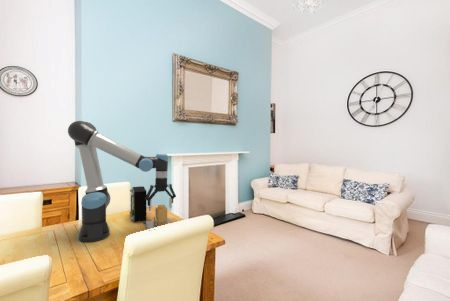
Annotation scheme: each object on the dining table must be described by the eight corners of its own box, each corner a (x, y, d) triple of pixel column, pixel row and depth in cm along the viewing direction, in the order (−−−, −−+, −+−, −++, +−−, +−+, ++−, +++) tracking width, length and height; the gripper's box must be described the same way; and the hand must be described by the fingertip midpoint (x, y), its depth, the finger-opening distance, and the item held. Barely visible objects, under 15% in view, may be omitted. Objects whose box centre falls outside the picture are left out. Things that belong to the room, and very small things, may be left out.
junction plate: (149, 230, 138) (149, 229, 138) (143, 223, 150) (143, 222, 150) (174, 225, 147) (174, 224, 147) (167, 218, 159) (167, 217, 159)
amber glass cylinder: (154, 226, 143) (154, 218, 143) (153, 225, 145) (153, 217, 144) (157, 225, 144) (157, 217, 144) (156, 224, 146) (156, 216, 146)
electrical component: (129, 214, 167) (129, 187, 166) (144, 213, 171) (144, 186, 170) (131, 222, 151) (131, 192, 150) (147, 220, 155) (147, 191, 154)
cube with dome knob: (158, 222, 149) (158, 207, 149) (155, 219, 154) (155, 205, 154) (167, 220, 153) (167, 205, 152) (164, 218, 158) (164, 203, 157)
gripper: (143, 179, 142) (142, 213, 143) (181, 177, 156) (180, 208, 157) (140, 177, 148) (139, 210, 149) (177, 175, 162) (176, 205, 163)
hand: (160, 209), depth 153 cm, fingers open, 13 cm apart
